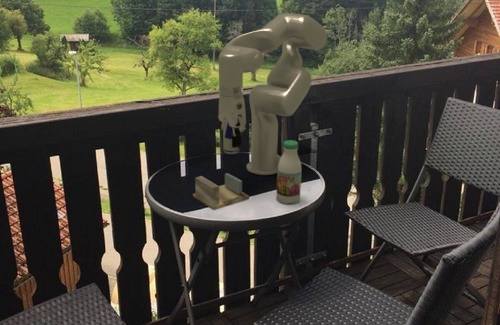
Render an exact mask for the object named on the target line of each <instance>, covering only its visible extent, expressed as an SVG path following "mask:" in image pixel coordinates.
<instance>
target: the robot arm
mask: <svg viewBox="0 0 500 325" xmlns="http://www.w3.org/2000/svg"><path fill="white" fill-rule="evenodd" d="M327 34H328V33H327V30H326V29H325V27H324V26H323V25H321V23H319V22H318V21H316V20H315V19H314V18H313V17H311V16H310V15H308V14H307V15H306V14H302V13H301V14H300V13H293V12H292V13H289V12H284V13H283V12H282V13H280V14H278V15H276V16H275V17H274V18H273V19H271V21H269V22H268V23H267V24H266V25H264V26H262V28H260V29H257V30H253V31H251V32H247V33H243V34H240V35H238V36H237V37H234V38H233V39H232V40H230V41H229V42H228V43H227V44H225V46H224V47H223V48H222V49H221V51H220V53H219V56H218V91H219V94H218V95H219V97H218V98H219V99H218V116H217V118H218V121H219V122H220V125H221V126H220V130H221V135H222V136H221V140H222V142H223V118H225V119H227V121H228V123H229V126H230V127H232V131H233V136H232V147H233V148H235V147H239V148H240V147H241V146H242V136H243V133H244V131H246V125H247V115H246V112H247V111H246V104H245V98H244V95H243V93H244V92H243V91H244V84H243V83H244V82H243V80H244V78H243V76H244V74H245V73H254V72H257V71H258V70H259V69H260V68H261V67H262V66H263V63H264V56H263V53H264V54H265V53H269V52H270V53H271V52H273V51H276V50H277V49H278V48H280V47H282V49H281V50H282V51H281V56H280V57H279V59H278V61H277V62H276V63H275V64H274V66H273V67H272V69H271V70H270V71H269V73H268V76H267V78H266V84H257V85H254V87H252V89H251V90H250V92H249V96H248V97H249V99H248V101H249V106H250V107H249V108H250V111H251V135H250V136H251V138H250V142H251V143H250V148H251V149H250V161H249V162H248V163H247V164H246V170H247V171H248V172H249V173H251V174H254V175H260V176H270V175H275V174H277V172H278V164H279V161H280V159H281V157H282V155H279V154H278V136H279V135H278V134H279V123H278V122H279V121H278V118H277V116H282V117H290V116H292V115H293V114H294V113H295V112H297V110H298V108H299V106H300V105H301V103H302V102H303V100H304V99H305V97H306V96H307V94H308V92H309V91H310V88H311V84H312V76H311V73H310V71H309V70H307V69H306V68H303V67H302V66H303V63H304V62H303V59H302V55H301V53H300V52H299V51H300V50H299V48H302V49H307V50H313V51H314V50H315V51H316V50H321V49H323V47H324V46H325V45H326V43H327V40H328V35H327ZM236 124H238V126H236ZM235 128H238V130H237V131H236V130H235Z"/></svg>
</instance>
